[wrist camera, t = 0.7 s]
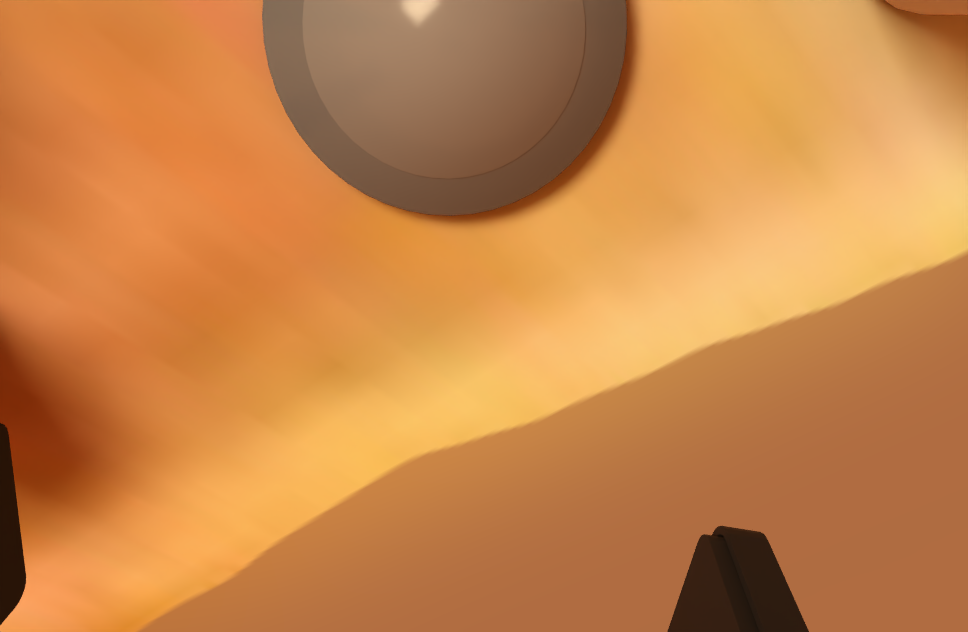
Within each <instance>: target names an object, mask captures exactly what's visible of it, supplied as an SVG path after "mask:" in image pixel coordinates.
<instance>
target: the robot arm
mask: <svg viewBox="0 0 968 632" xmlns="http://www.w3.org/2000/svg"><path fill="white" fill-rule="evenodd" d="M25 584H26V572H25V564H24V556H23V548H22V540H21V532H20V524H19V516H18V507H17V499H16V491H15V483H14V475H13V467H12V459H11V451H10V443H9V435H8V431H7V428H6V427H5V425H4V424H1V423H0V625H1V624H2V623H3V621H4V620H5V619H6V618H7V617H8V615H9V614H10V613H11V612H12V611H13V609H14V608H15V607H16V605H17V604H18V603H19V601H20V599H21V597H22V595H23V592H24V589H25ZM668 632H809V631H808V629H807V626H806V624H805V622H804V620H803V618H802V615H801V613H800V611H799V609H798V606H797V604H796V602H795V600H794V597H793V595H792V593H791V591H790V589H789V586H788V584H787V582H786V580H785V577H784V575H783V573H782V571H781V569H780V567H779V564H778V562H777V560H776V557H775V555H774V553H773V551H772V548H771V546H770V544H769V542H768V540H767V538H766V536H765V535H764V534H763V533H761V532H757V531H751V530H744V529H738V528H732V527H725V526H719V527H717V528H716V529H715V531H714V532H713V534H712V535H702V536H701V537H700V539H699V541H698V543H697V546H696V549H695V552H694V555H693V558H692V561H691V564H690V567H689V570H688V573H687V576H686V579H685V582H684V585H683V587H682V590H681V593H680V596H679V599H678V602H677V605H676V608H675V611H674V614H673V617H672V620H671V623H670V626H669V629H668Z"/></svg>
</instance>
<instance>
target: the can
mask: <svg viewBox="0 0 968 632" xmlns="http://www.w3.org/2000/svg"><path fill="white" fill-rule="evenodd" d="M885 1H886V2H888V3H889V4H891V5H892V6H894V7H895V8H897V9H901V10H905V11H909V12H914V13H918V14H922V15H968V0H885Z"/></svg>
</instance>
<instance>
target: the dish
mask: <svg viewBox="0 0 968 632" xmlns="http://www.w3.org/2000/svg"><path fill="white" fill-rule="evenodd" d="M262 20H263V34H264V45H265V50H266V55H267V60H268V66H269V69H270V73H271V76H272V79H273V82H274V85H275V88H276V91H277V93H278V96H279V98H280V100H281V102H282V105H283V107H284V109H285V111H286V113H287V115H288V117H289V118H290V120H291V122H292V123H293V125H294V127H295V128H296V130H297V132H298V133H299V135H300V136H301V137H302V138H303V140H304V141H305V142H306V144H307V145H308V146H309V148H310V149H311V150H312V151H313V153H314V154H315V155H316V156H317V157H318V158H319V159H320V160H321V161H322V162H323V163H324V164H325V165H326V166H327V167H328V168H329V169H330V170H332V171H333V172H334V173H335V174H337V175H338V176H339V177H340V178H342V179H343V180H344V181H345V182H347V183H348V184H350V185H351V186H353V187H355V188H356V189H358V190H359V191H361V192H363V193H364V194H366V195H368V196H370V197H372V198H375V199H377V200H379V201H381V202H383V203H386V204H388V205H391V206H395V207H398V208H401V209H404V210H407V211H413V212H418V213H424V214H430V215H449V216H452V215H465V214H474V213H479V212H484V211H489V210H494V209H496V208H499V207H502V206H505V205H508V204H511V203H514V202H516V201H518V200H520V199H522V198H524V197H526V196H528V195H530V194H532V193H534V192H535V191H537V190H538V189H540V188H541V187H543V186H544V185H546V184H547V183H549V182H550V181H552V180H553V179H554V178H555V177H557V176H558V175H559V174H560V173H561V172H562V171H563V170H565V169H566V168H567V167H568V166H569V165H570V164H571V163H572V162H573V161H574V160H575V159H576V157H577V156H578V155H579V154H580V153H581V152H582V151H583V150H584V148H585V147H586V146H587V144H588V143H589V141H590V140H591V138H592V137H593V136H594V134H595V133H596V131H597V130H598V128H599V126H600V124H601V123H602V121H603V119H604V117H605V115H606V113H607V111H608V109H609V107H610V105H611V102H612V99H613V96H614V94H615V91H616V88H617V85H618V83H619V78H620V74H621V70H622V65H623V61H624V55H625V45H626V36H627V14H626V1H625V0H263V13H262Z"/></svg>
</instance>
